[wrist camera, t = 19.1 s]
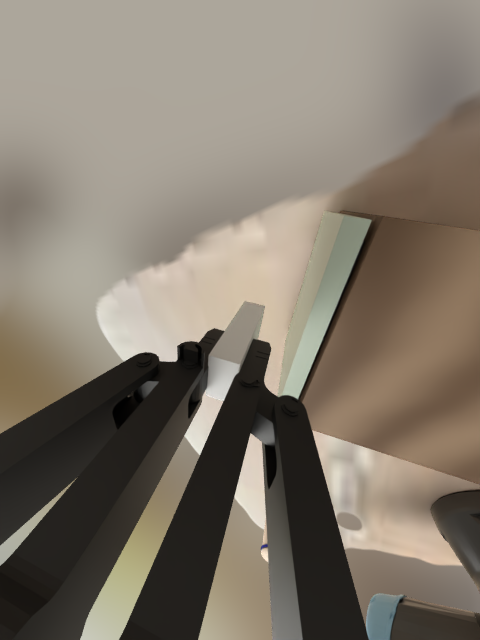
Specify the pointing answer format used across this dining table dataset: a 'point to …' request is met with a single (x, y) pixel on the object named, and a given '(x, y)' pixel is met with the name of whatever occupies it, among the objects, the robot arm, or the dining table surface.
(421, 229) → the box
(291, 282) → the dining table surface
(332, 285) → the pale green angular block
